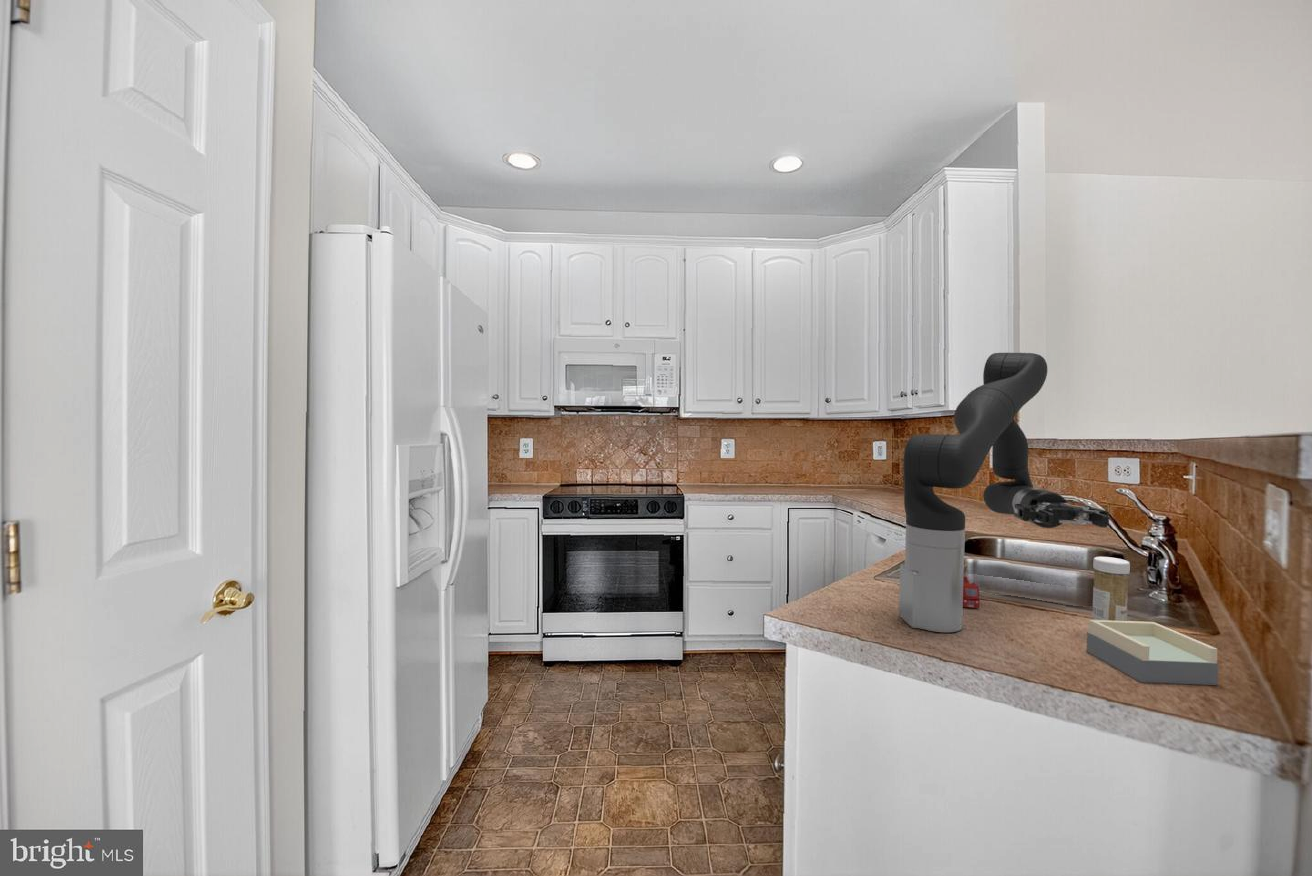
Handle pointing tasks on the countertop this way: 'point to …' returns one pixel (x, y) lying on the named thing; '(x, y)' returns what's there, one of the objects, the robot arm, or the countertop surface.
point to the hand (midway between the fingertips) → (1078, 520)
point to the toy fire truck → (970, 591)
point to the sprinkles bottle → (1110, 588)
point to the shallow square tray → (1152, 652)
